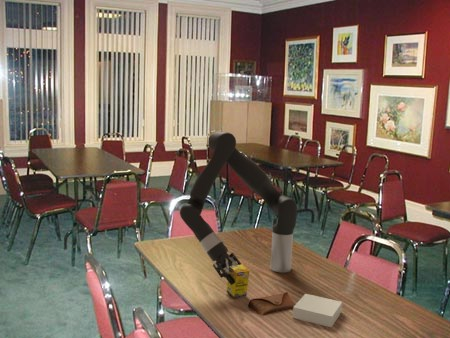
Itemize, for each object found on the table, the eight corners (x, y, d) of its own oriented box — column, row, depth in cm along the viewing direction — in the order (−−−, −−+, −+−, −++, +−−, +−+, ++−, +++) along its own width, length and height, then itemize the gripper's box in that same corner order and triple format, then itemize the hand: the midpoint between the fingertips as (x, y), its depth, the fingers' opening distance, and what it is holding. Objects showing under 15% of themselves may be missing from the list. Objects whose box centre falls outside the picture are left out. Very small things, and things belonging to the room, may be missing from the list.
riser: (304, 303, 193) (305, 293, 193) (341, 312, 187) (342, 301, 186) (292, 317, 181) (293, 307, 180) (331, 327, 175) (332, 316, 174)
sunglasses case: (261, 316, 181) (256, 297, 183) (250, 318, 186) (246, 300, 188) (300, 306, 190) (295, 289, 192) (289, 309, 196) (285, 292, 198)
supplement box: (233, 298, 195) (236, 272, 192) (226, 291, 200) (228, 266, 197) (246, 296, 198) (249, 270, 195) (238, 289, 203) (241, 263, 200)
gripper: (211, 245, 193) (237, 280, 190) (228, 237, 206) (252, 269, 202) (198, 256, 196) (223, 291, 193) (216, 247, 209) (239, 279, 205)
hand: (238, 280), depth 197 cm, fingers closed on supplement box, 8 cm apart
